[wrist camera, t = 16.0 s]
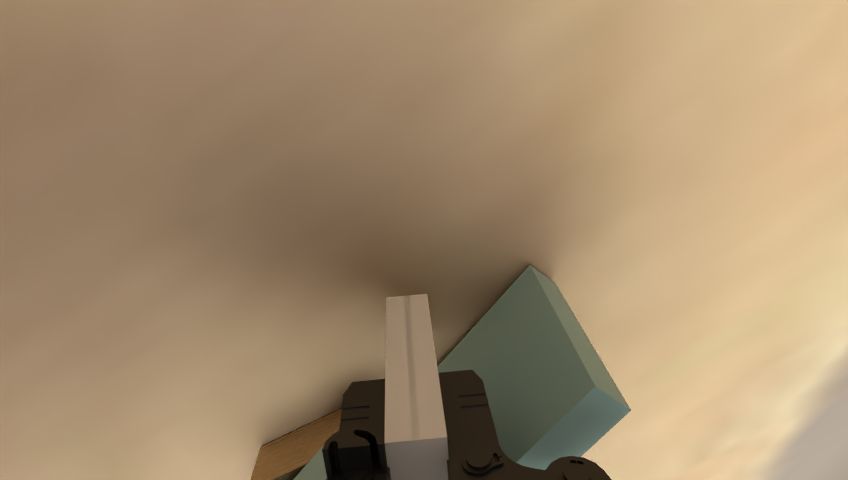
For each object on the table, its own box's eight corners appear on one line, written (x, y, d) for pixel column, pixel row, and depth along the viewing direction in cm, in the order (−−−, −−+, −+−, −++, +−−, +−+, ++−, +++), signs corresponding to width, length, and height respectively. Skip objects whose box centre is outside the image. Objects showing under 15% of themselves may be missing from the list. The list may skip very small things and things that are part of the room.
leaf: (377, 542, 24) (370, 729, 17) (260, 485, 22) (207, 668, 16) (600, 316, 20) (694, 453, 14) (479, 227, 18) (521, 336, 12)
